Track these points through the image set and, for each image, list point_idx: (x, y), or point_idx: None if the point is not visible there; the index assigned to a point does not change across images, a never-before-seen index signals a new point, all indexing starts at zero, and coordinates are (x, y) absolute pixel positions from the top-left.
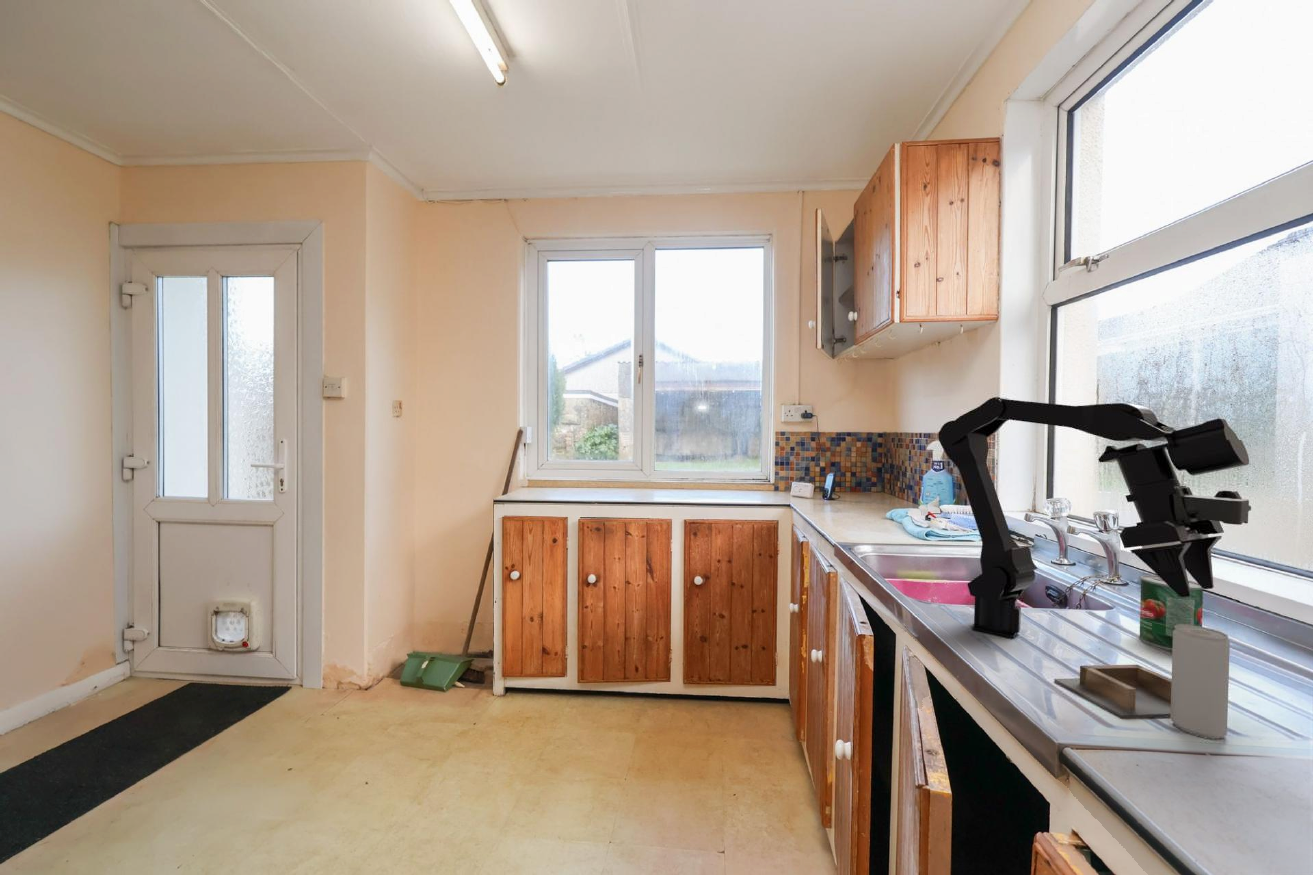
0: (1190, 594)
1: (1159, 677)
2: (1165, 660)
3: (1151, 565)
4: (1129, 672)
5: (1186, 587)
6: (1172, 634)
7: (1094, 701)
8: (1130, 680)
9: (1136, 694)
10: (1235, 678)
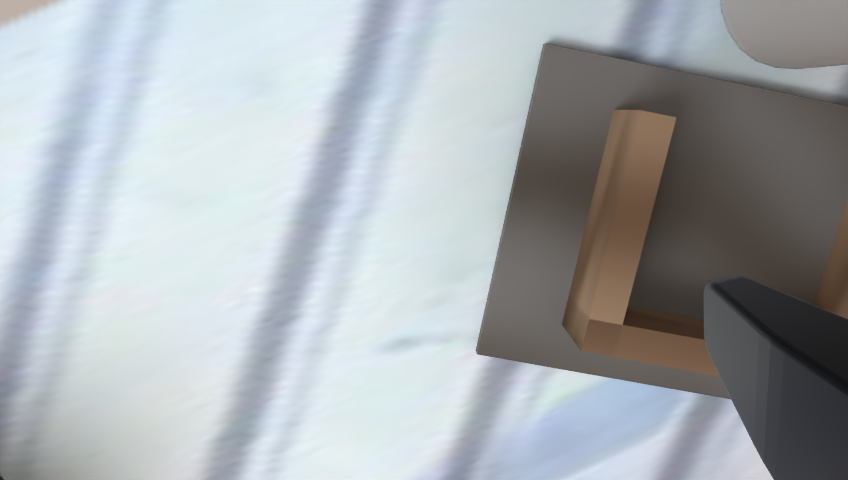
0: (731, 280)
1: (646, 227)
2: (111, 466)
3: None
4: (660, 325)
5: (825, 319)
6: None
7: None
8: (638, 314)
9: (705, 243)
10: (8, 260)
